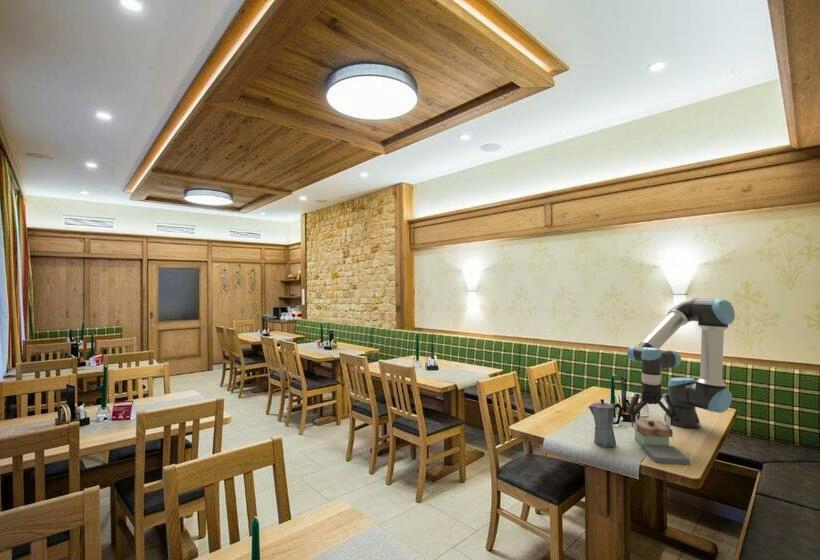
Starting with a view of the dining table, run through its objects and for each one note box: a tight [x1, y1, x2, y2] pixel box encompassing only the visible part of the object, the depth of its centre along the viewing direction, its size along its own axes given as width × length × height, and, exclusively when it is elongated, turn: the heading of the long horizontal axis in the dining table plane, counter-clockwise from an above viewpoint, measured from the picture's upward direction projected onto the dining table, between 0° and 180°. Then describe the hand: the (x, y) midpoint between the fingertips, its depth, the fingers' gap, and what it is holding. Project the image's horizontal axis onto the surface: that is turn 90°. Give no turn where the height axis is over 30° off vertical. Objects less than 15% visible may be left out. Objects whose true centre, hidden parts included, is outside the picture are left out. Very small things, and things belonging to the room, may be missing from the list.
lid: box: [630, 419, 674, 438], centre depth 179 cm, size 12×12×4 cm
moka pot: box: [587, 398, 623, 448], centre depth 180 cm, size 10×15×20 cm, turn 95°
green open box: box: [634, 429, 670, 446], centre depth 179 cm, size 10×10×6 cm
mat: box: [640, 444, 691, 465], centre depth 167 cm, size 13×13×2 cm
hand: (651, 430), depth 179 cm, fingers open, 13 cm apart
